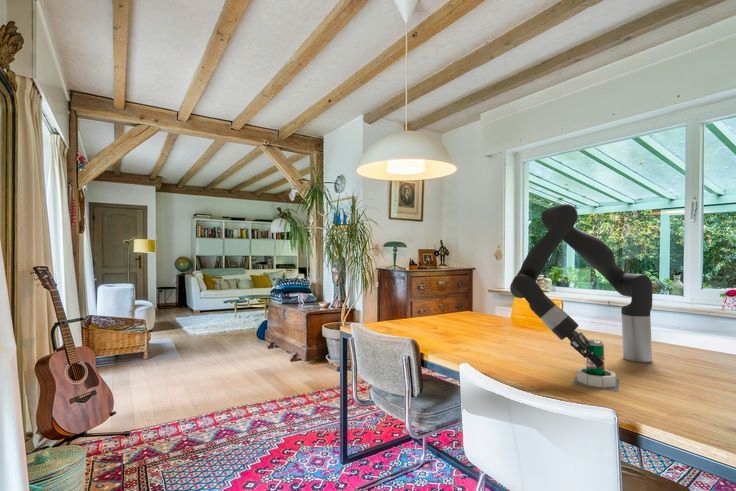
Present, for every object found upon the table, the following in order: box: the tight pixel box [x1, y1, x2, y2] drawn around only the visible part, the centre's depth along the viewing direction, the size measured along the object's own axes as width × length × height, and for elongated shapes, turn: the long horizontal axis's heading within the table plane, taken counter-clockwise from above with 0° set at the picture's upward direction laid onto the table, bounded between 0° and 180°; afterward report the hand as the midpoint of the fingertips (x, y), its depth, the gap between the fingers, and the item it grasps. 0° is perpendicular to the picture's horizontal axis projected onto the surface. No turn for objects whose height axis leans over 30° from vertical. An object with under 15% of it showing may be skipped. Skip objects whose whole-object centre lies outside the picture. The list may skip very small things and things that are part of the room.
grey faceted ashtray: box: [576, 367, 617, 388], centre depth 120 cm, size 10×10×3 cm
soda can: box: [585, 339, 606, 376], centre depth 121 cm, size 5×5×12 cm
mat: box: [572, 374, 620, 393], centre depth 120 cm, size 14×12×1 cm
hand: (601, 363), depth 119 cm, fingers closed on soda can, 5 cm apart
